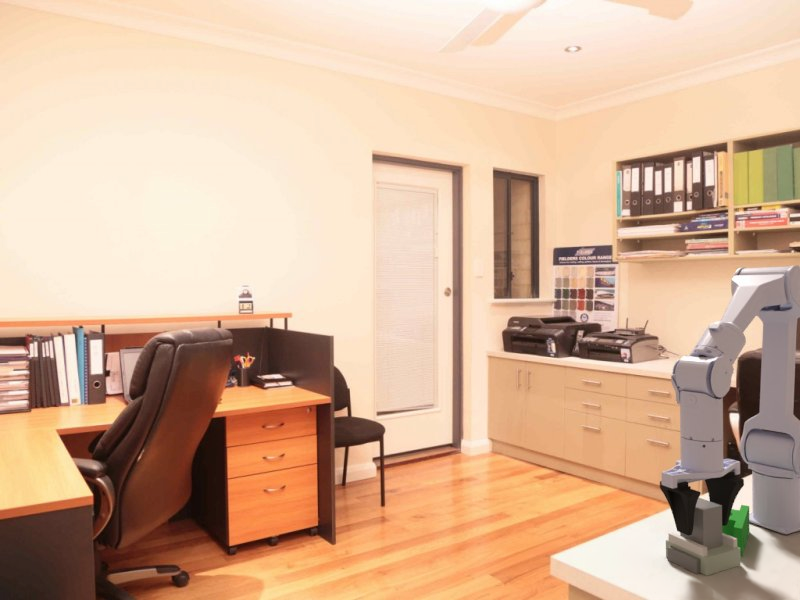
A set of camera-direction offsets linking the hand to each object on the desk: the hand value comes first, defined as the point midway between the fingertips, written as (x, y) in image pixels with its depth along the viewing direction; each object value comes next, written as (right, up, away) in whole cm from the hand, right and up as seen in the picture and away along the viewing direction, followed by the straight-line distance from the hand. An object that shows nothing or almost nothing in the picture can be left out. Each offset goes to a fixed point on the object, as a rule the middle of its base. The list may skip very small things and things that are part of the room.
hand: (702, 528), depth 91 cm
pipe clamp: (+8, -5, +7) cm, 12 cm away
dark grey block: (0, -2, 0) cm, 2 cm away
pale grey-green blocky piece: (0, -5, 0) cm, 5 cm away
